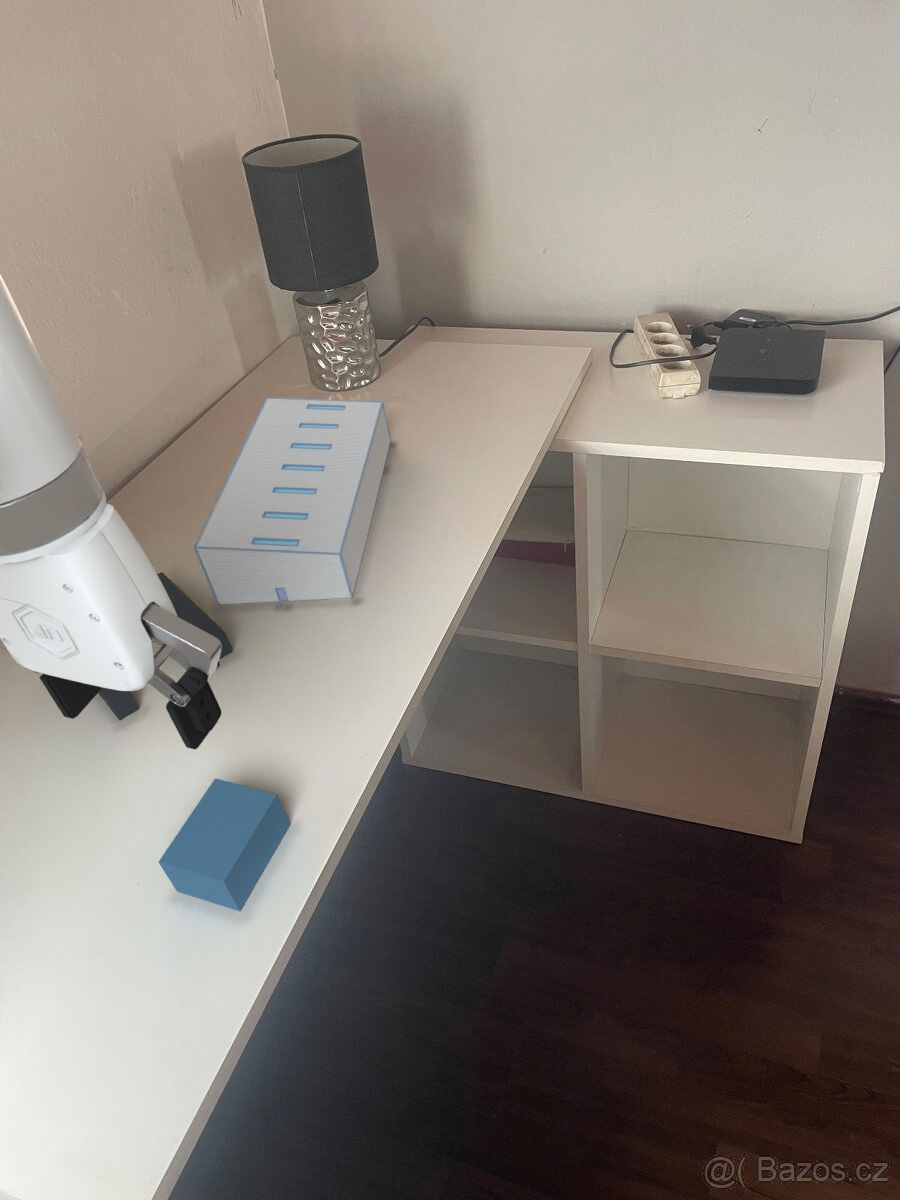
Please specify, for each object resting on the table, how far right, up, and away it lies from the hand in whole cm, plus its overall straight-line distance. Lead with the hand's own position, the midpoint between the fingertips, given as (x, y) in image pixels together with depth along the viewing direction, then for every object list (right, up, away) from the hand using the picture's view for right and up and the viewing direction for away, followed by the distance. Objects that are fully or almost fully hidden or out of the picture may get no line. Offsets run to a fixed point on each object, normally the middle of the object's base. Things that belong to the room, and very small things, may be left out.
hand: (143, 716), depth 56 cm
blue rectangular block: (+3, -12, +10) cm, 16 cm away
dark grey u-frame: (-10, +3, +29) cm, 31 cm away
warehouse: (+4, +17, +44) cm, 47 cm away
